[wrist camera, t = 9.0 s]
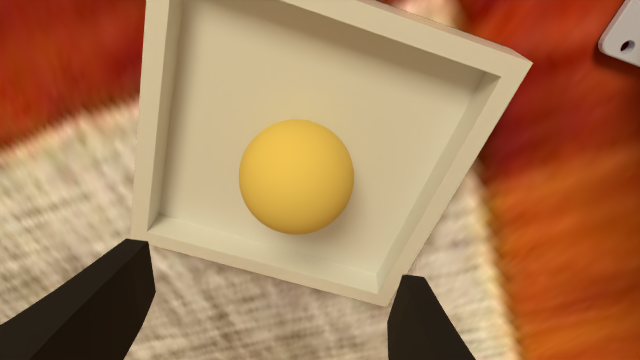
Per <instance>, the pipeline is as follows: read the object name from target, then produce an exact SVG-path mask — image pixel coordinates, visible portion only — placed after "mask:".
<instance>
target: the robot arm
mask: <svg viewBox="0 0 640 360" xmlns="http://www.w3.org/2000/svg"><path fill="white" fill-rule="evenodd" d="M628 40H629V45H628V47H627V48H626V49H625V50H623V51H620V48H621V46H622V44H623V43H624V42H626V41H628ZM598 48H599V50H600V51H601V52H602V53H604V54H606V55H609V56H611V57H614V58H617V59H619V60H622V61H625V62H628V63H630V64H633V65H636V66H639V67H640V0H625V2H624V3H623V5H622V6H621V8H620V9H619V11H618V12H617V14H616V15H615V17H614V18H613V20H612V21H611V23H610V24H609V26H608V27H607V28H606V30H605V31H604V33H603V34H602V36H601V38H600V40H599V42H598ZM155 293H156V290H155V284H154V277H153V270H152V263H151V256H150V250H149V243H148V241H142V240H135V239H125V240H124V241H122V242H121V243H120V244H118V245H117V246H115V247H114V248H113V249H111V250H110V251H109V252H107V253H106V254H104V255H103V256H102V257H100V258H99V259H98V260H96V261H95V262H93V263H92V264H91V265H89V266H88V267H87V268H85V269H84V270H82V271H81V272H80V273H78V274H77V275H75V276H74V277H73V278H71V279H70V280H68V281H67V282H66V283H64V284H63V285H61V286H60V287H58V288H57V289H56V290H54V291H53V292H51V293H50V294H48V295H47V296H45V297H44V298H42V299H41V300H39V301H38V302H36V303H35V304H33V305H31V306H30V307H28V308H27V309H25V310H24V311H22V312H21V313H19V314H18V315H16V316H15V317H13V318H11V319H10V320H8V321H7V322H5V323H3V324H2V325H0V360H124V358H125V356H126V354H127V352H128V351H129V349H130V347H131V345H132V343H133V342H134V340H135V338H136V336H137V334H138V332H139V331H140V329H141V327H142V325H143V322H144V320H145V318H146V315H147V313H148V311H149V308H150V306H151V303H152V301H153V298H154V296H155ZM387 329H388V358H389V360H476V359H475V358H474V356H473V355H472V354H471V352H470V351H469V349H468V348H467V346H466V344H465V343H464V341H463V340H462V338H461V337H460V335H459V334H458V332H457V331H456V329H455V328H454V326H453V324H452V323H451V321H450V320H449V318H448V316H447V315H446V313H445V311H444V310H443V308H442V306H441V305H440V303H439V301H438V300H437V298H436V296H435V294H434V293H433V291H432V289H431V287H430V286H429V284H428V282H427V281H426V279H425V278H424V277H420V276H412V275H404V274H402V277H401V280H400V284H399V287H398V290H397V293H396V296H395V299H394V303H393V306H392V309H391V312H390V315H389V318H388V321H387Z"/></svg>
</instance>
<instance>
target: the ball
mask: <svg viewBox="0 0 640 360" xmlns="http://www.w3.org/2000/svg"><path fill="white" fill-rule="evenodd" d="M353 186H354V168H353V164H352V159H351V157H350V154H349V152H348V150H347V148H346V147H345V145H344V144H343V142H342V141H341V140H340V139H339V138H338V137H337V135H335V134H334V133H333V132H332V131H331V130H329V129H328V128H326V127H324V126H323V125H320V124H318V123H316V122H312V121H308V120H302V119H291V120H285V121H281V122H278V123H275V124H272V125H270V126H268V127H267V128H265V129H264V130H262V131H261V132H260V133H259V134H257V135H256V136H255V137H254V138H253V139H252V141H251V142H250V143H249V145H248V146H247V148H246V150H245V151H244V154H243V156H242V159H241V162H240V167H239V187H240V191H241V195H242V198H243V200H244V202H245V204H246V206H247V208H248V209H249V211H250V212H251V213H252V215H253V216H254V217H255V218H256V219H257V220H258V221H260V222H261V223H262V224H264V225H265V226H267V227H268V228H270V229H272V230H275V231H277V232H281V233H285V234H292V235H302V234H308V233H312V232H315V231H318V230H320V229H322V228H324V227H326V226H328V225H329V224H331V223H332V222H333V221H334V220H335V219H336V218H337V217H339V215H340V214H341V213H342V212H343V210H344V209H345V207H346V206H347V204H348V202H349V200H350V197H351V194H352V191H353Z"/></svg>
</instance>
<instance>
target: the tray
mask: <svg viewBox="0 0 640 360" xmlns="http://www.w3.org/2000/svg"><path fill="white" fill-rule="evenodd" d="M532 64H533V63H532V62H531V61H529V60H528V59H526V58H525V57H523V56H521V55H520V54H518V53H517V52H515V51H514V50H512V49H511V48H508V47H505V46H502V45H499V44H497V43H494V42H491V41H488V40H485V39H483V38H480V37H477V36H474V35H471V34H468V33H466V32H463V31H460V30H457V29H454V28H452V27H449V26H446V25H443V24H440V23H438V22H435V21H432V20H429V19H426V18H423V17H421V16H418V15H415V14H412V13H409V12H407V11H404V10H401V9H398V8H395V7H392V6H390V5H387V4H384V3H381V2H378V1H376V0H146V14H145V28H144V43H143V58H142V72H141V87H140V101H139V116H138V131H137V145H136V160H135V175H134V189H133V204H132V219H131V233H130V239H135V240H142V241H148V243H149V244H150V245H153V246H157V247H161V248H165V249H168V250H172V251H176V252H180V253H183V254H187V255H191V256H195V257H198V258H202V259H206V260H210V261H214V262H217V263H221V264H225V265H229V266H232V267H236V268H240V269H244V270H247V271H251V272H255V273H259V274H262V275H266V276H270V277H274V278H278V279H281V280H285V281H289V282H293V283H296V284H300V285H304V286H308V287H311V288H315V289H319V290H323V291H327V292H330V293H334V294H338V295H342V296H345V297H349V298H353V299H357V300H360V301H364V302H368V303H372V304H375V305H379V306H383V307H387V305H388V303H389V302H390V300H391V299H392V297H393V295H394V294H395V292H396V290H397V289H398V287H399V284H400V280H401V277H402V274H404V275H406V274H407V272H408V270H409V269H410V267H411V265H412V264H413V262H414V260H415V259H416V257H417V255H418V254H419V252H420V250H421V249H422V247H423V245H424V244H425V242H426V240H427V239H428V237H429V235H430V234H431V232H432V230H433V229H434V227H435V225H436V224H437V222H438V220H439V219H440V217H441V215H442V214H443V212H444V210H445V209H446V207H447V205H448V204H449V202H450V200H451V199H452V197H453V195H454V194H455V192H456V190H457V189H458V187H459V185H460V184H461V182H462V180H463V179H464V177H465V175H466V174H467V172H468V170H469V169H470V167H471V165H472V164H473V162H474V160H475V159H476V157H477V155H478V154H479V152H480V150H481V149H482V147H483V145H484V144H485V142H486V140H487V139H488V137H489V135H490V134H491V132H492V130H493V129H494V127H495V125H496V124H497V122H498V120H499V119H500V117H501V115H502V114H503V112H504V110H505V109H506V107H507V105H508V104H509V102H510V100H511V99H512V97H513V95H514V94H515V92H516V90H517V89H518V87H519V85H520V84H521V82H522V80H523V79H524V77H525V75H526V74H527V72H528V70H529V69H530V67H531V65H532ZM291 119H302V120H308V121H312V122H316V123H318V124H320V125H323V126H324V127H326V128H328V129H329V130H331V131H332V132H333V133H334V134H335V135H337V137H338V138H339V139H340V140H341V141H342V142H343V144H344V145H345V147H346V148H347V150H348V152H349V154H350V157H351V159H352V164H353V168H354V186H353V191H352V194H351V197H350V200H349V202H348V204H347V206H346V207H345V209H344V210H343V212H342V213H341V214H340V215H339V217H337V218H336V219H335V220H334V221H333V222H332V223H331V224H329V225H328V226H326V227H324V228H322V229H320V230H318V231H315V232H312V233H308V234H302V235H292V234H285V233H281V232H277V231H275V230H272V229H270V228H268V227H267V226H265V225H264V224H262V223H261V222H260V221H258V220H257V219H256V218H255V217H254V216H253V215H252V213H251V212H250V211H249V209H248V208H247V206H246V204H245V202H244V200H243V198H242V195H241V191H240V187H239V167H240V162H241V159H242V156H243V154H244V151H245V150H246V148H247V146H248V145H249V143H250V142H251V141H252V139H253V138H254V137H255V136H256V135H257V134H259V133H260V132H261V131H262V130H264V129H265V128H267V127H268V126H270V125H272V124H275V123H278V122H281V121H285V120H291Z"/></svg>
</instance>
